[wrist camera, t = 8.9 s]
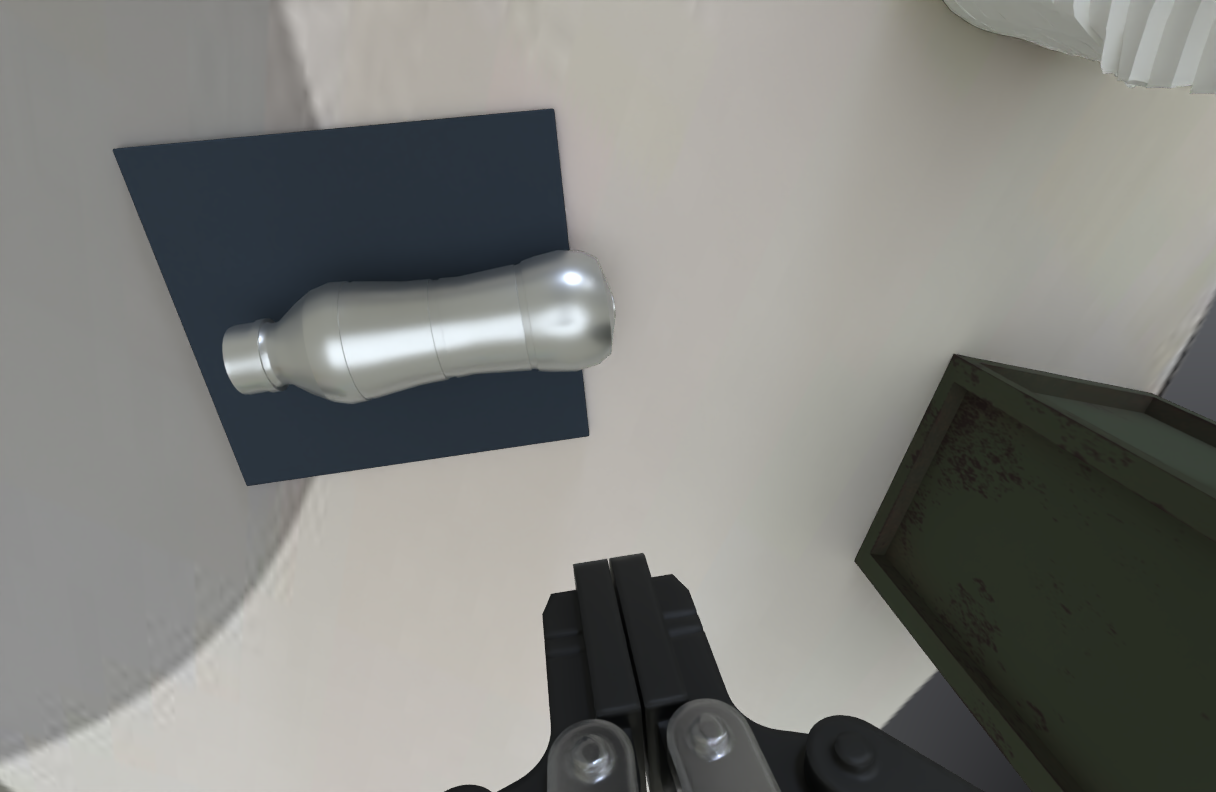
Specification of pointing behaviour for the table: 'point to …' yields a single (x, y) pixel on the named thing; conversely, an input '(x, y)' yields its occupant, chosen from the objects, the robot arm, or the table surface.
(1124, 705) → the first aid box
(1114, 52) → the paper stack
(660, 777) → the robot arm
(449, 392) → the rubber mat
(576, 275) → the silver bottle
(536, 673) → the table surface
